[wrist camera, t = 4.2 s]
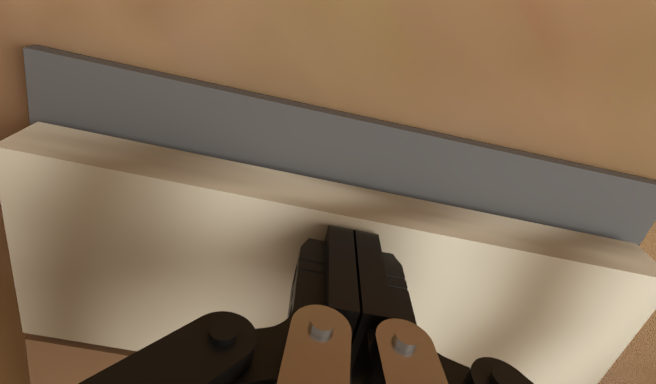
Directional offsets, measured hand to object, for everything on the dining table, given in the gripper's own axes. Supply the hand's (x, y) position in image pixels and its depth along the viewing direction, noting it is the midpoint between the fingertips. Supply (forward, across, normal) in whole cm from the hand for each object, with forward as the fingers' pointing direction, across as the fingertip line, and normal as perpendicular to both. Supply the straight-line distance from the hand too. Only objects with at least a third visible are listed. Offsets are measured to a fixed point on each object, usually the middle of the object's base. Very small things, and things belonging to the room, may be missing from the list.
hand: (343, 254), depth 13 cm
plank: (+2, 0, +2) cm, 3 cm away
